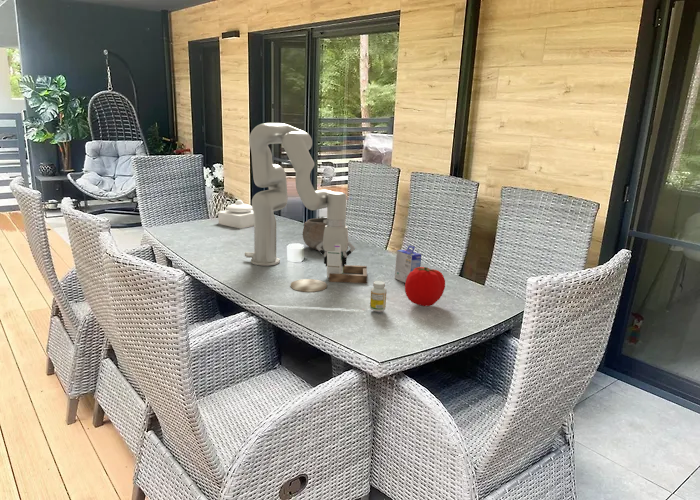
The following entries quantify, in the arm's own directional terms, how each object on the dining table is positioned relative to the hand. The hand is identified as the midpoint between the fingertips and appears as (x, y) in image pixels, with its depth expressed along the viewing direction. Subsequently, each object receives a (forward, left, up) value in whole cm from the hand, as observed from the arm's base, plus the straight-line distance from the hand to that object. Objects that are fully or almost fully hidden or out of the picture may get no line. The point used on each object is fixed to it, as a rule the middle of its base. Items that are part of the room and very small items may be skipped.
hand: (335, 265), depth 218 cm
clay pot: (-7, +44, -5) cm, 45 cm away
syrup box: (0, 0, -5) cm, 5 cm away
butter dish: (-59, +90, -5) cm, 108 cm away
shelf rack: (+6, 0, -5) cm, 7 cm away
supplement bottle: (+17, -36, -5) cm, 40 cm away
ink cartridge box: (+30, -2, -5) cm, 30 cm away
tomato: (+34, -28, -5) cm, 44 cm away
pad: (-9, -14, -5) cm, 17 cm away
